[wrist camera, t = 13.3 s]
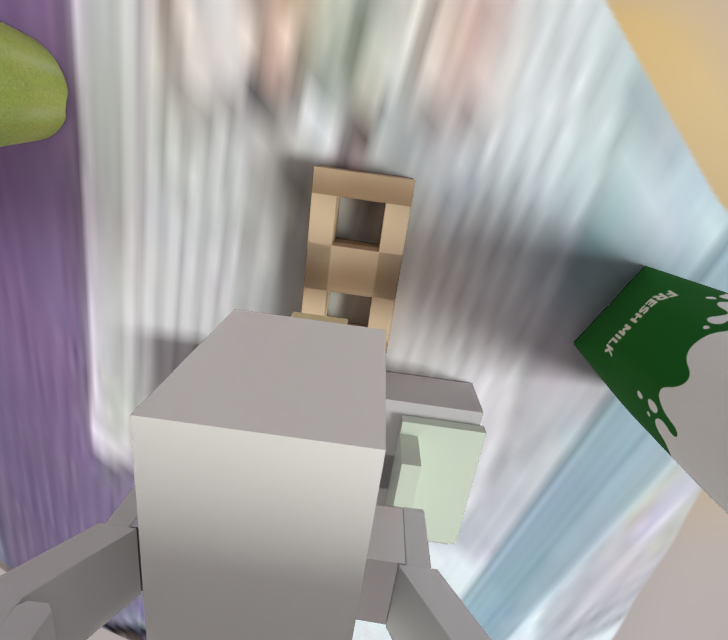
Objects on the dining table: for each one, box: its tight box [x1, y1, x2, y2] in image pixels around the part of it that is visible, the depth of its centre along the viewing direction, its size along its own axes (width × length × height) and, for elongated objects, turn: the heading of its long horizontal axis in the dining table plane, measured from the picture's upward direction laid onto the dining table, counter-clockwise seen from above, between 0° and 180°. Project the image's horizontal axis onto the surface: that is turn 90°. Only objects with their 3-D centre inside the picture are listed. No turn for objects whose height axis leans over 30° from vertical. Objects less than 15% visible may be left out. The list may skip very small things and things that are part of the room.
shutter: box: [385, 415, 486, 544], centre depth 30 cm, size 10×6×4 cm, turn 172°
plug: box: [130, 309, 386, 640], centre depth 11 cm, size 9×4×7 cm, turn 173°
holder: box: [302, 165, 415, 352], centre depth 29 cm, size 12×6×2 cm, turn 172°
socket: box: [174, 345, 483, 544], centre depth 33 cm, size 12×21×4 cm, turn 82°
